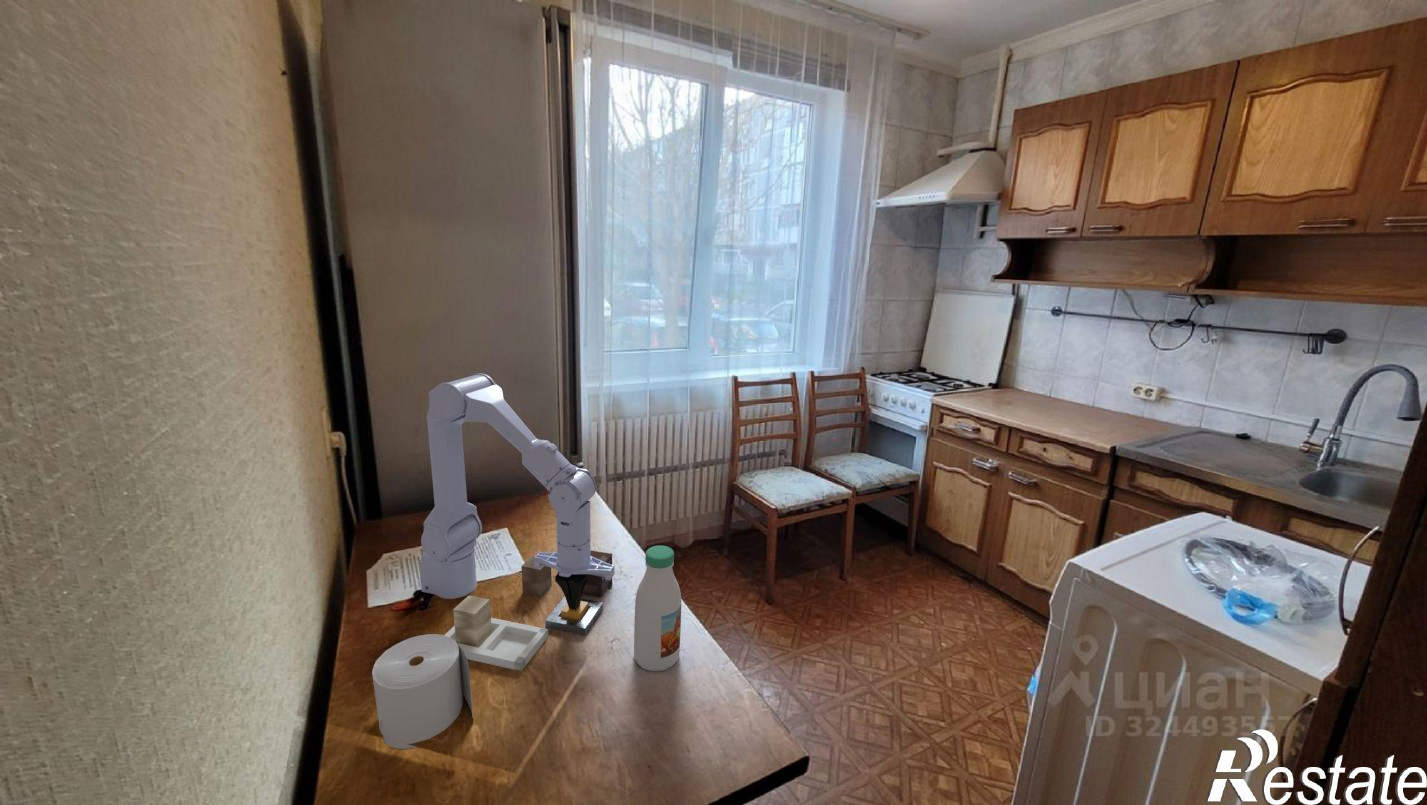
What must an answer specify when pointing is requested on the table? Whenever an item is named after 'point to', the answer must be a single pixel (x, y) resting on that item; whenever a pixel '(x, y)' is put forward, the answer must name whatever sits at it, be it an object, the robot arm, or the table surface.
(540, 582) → the block
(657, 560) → the milk bottle
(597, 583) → the box
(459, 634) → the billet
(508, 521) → the table surface
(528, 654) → the light grey rectangular frame
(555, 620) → the button housing
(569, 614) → the button
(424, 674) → the toilet tissue
